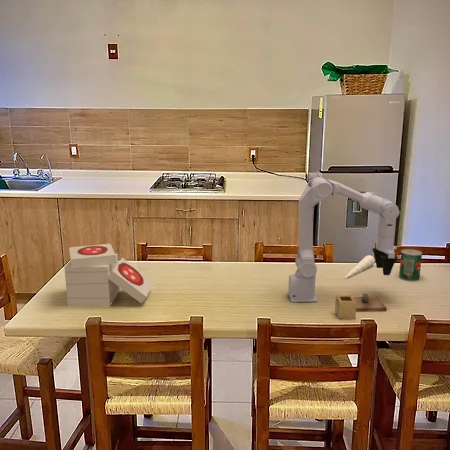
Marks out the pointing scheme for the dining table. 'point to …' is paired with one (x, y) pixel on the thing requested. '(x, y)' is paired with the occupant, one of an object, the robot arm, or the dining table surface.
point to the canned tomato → (410, 265)
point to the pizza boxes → (101, 277)
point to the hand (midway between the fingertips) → (383, 271)
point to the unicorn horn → (361, 266)
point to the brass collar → (345, 307)
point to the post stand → (369, 303)
